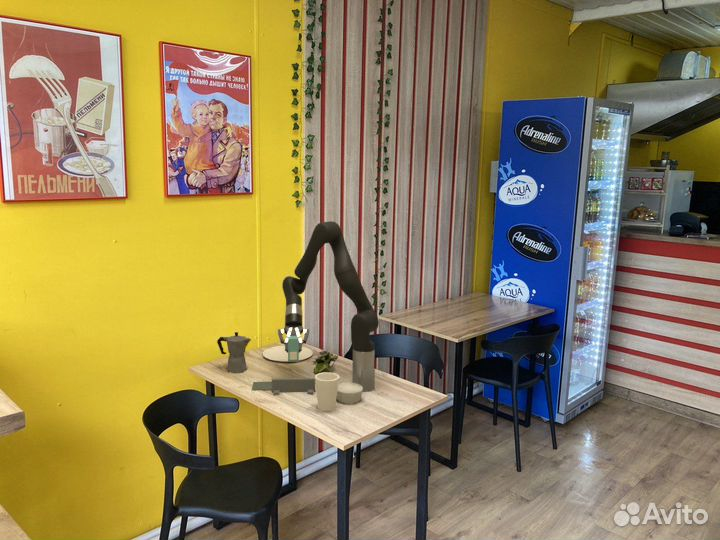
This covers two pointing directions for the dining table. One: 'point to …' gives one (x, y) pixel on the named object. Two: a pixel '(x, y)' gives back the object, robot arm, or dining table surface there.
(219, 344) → the coffeepot
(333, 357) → the passion flower
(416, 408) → the dining table surface
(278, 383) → the screen
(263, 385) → the mat
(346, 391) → the ramekin
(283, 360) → the plate
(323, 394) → the foam cup
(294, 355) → the block
